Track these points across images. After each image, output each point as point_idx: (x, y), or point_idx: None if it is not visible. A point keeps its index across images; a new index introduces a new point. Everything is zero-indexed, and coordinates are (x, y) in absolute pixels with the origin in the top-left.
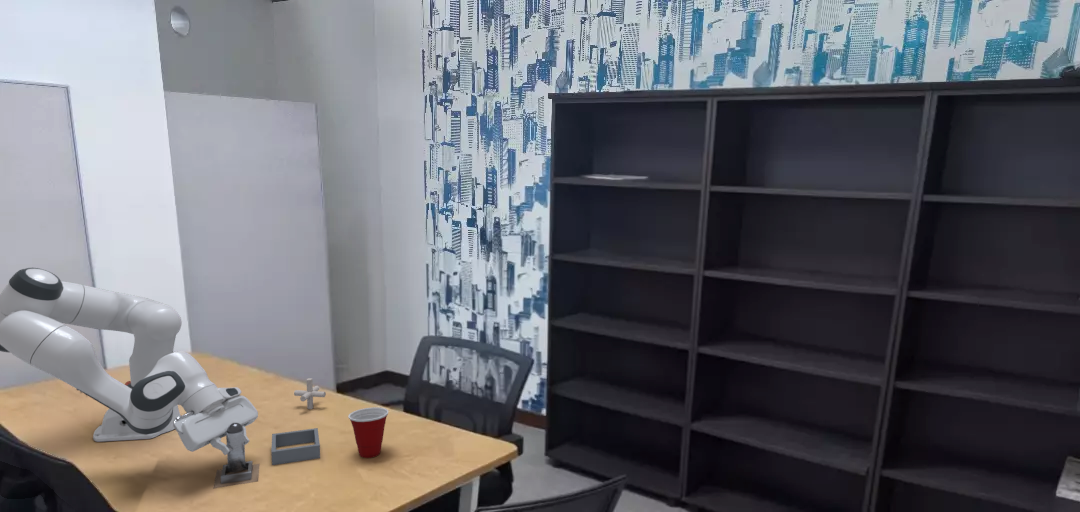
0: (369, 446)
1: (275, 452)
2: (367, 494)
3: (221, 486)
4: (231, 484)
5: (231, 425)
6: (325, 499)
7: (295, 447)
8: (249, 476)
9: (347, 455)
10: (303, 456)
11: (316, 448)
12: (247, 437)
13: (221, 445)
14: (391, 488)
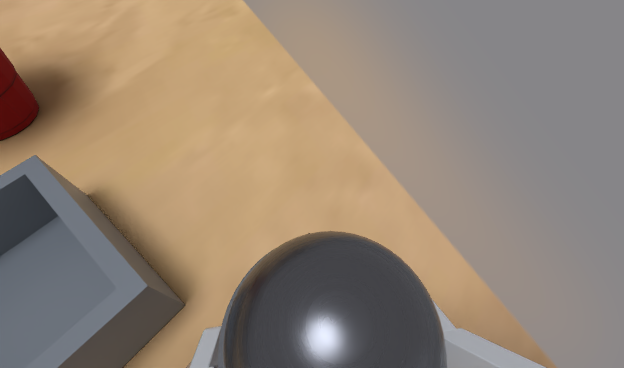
0: (12, 65)
1: (138, 273)
2: (221, 24)
3: None
4: None
5: (409, 319)
6: (275, 62)
7: (70, 223)
8: None
9: (22, 159)
10: (95, 213)
11: (51, 169)
12: (197, 348)
13: (484, 345)
14: (184, 9)
